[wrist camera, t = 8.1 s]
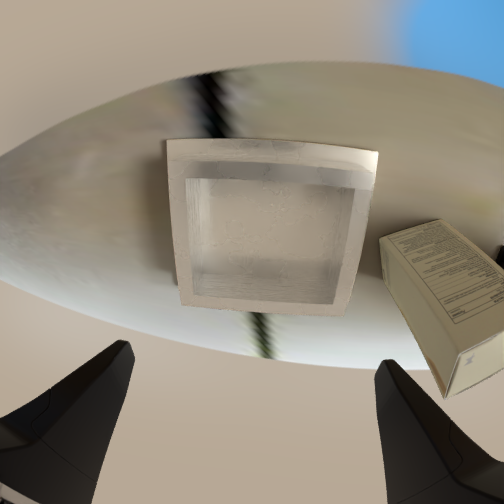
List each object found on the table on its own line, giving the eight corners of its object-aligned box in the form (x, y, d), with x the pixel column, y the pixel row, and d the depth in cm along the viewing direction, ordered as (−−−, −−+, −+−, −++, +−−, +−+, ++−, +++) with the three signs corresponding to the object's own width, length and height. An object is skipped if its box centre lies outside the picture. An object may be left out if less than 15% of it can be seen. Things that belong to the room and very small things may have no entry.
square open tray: (375, 151, 17) (395, 159, 14) (347, 298, 22) (356, 326, 19) (169, 139, 18) (147, 145, 14) (180, 286, 23) (167, 313, 20)
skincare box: (382, 282, 21) (437, 405, 11) (377, 235, 20) (452, 357, 9) (446, 261, 20) (521, 361, 9) (445, 216, 18) (544, 308, 7)
